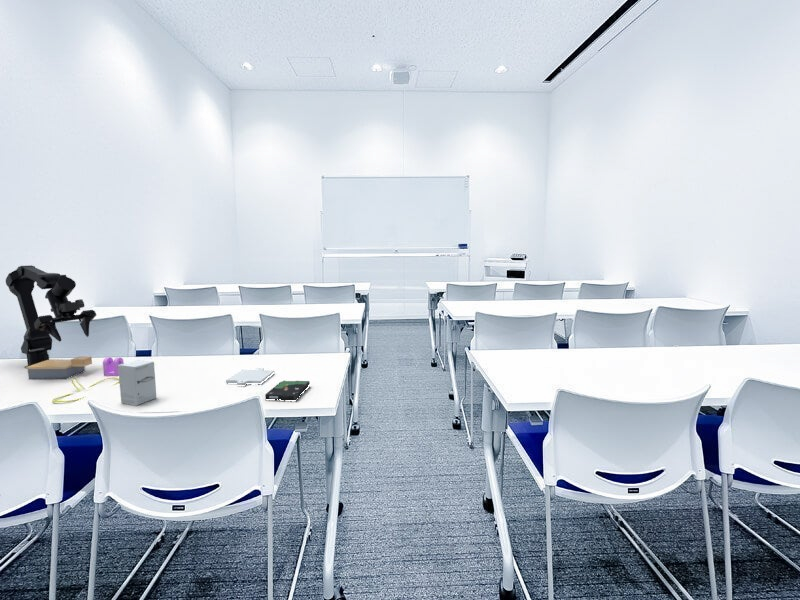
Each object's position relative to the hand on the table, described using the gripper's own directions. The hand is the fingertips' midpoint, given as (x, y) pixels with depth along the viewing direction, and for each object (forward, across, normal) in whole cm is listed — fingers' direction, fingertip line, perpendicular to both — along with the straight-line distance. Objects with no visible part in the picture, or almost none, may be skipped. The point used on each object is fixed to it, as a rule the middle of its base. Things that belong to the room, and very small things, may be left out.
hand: (74, 338), depth 165 cm
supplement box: (+38, -4, -31) cm, 49 cm away
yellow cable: (+24, -7, -9) cm, 27 cm away
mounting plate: (+46, +29, -43) cm, 69 cm away
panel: (+8, -3, +16) cm, 18 cm away
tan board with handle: (+5, -2, +12) cm, 13 cm away
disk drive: (+59, +23, -63) cm, 89 cm away
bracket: (+17, +12, +2) cm, 21 cm away
